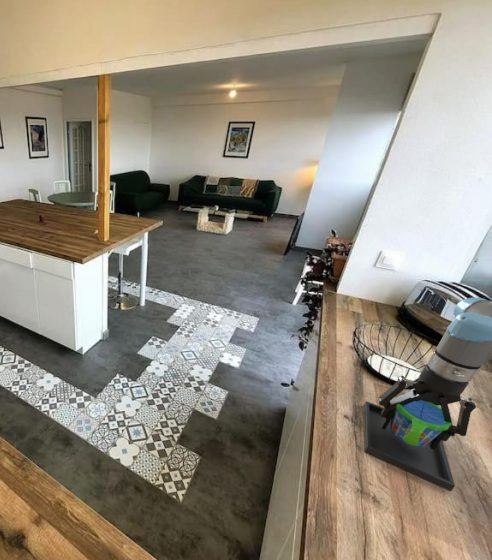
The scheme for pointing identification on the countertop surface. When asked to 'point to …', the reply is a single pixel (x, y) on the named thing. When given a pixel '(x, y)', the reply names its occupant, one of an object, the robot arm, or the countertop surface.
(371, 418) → the dark grey tray
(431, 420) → the snack cup
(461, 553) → the countertop surface
